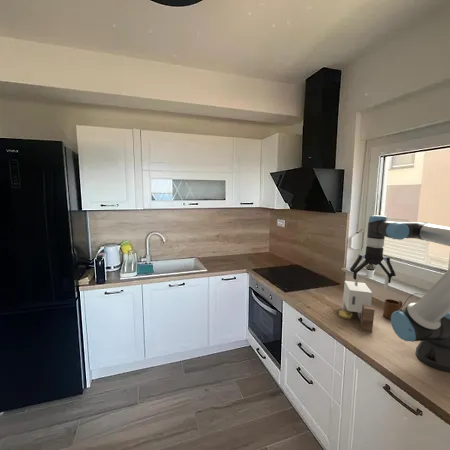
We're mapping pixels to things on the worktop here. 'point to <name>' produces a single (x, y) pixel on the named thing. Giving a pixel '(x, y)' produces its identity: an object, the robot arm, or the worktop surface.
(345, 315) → the brass token
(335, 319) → the worktop surface
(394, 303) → the mug
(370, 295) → the cabinet
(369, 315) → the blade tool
